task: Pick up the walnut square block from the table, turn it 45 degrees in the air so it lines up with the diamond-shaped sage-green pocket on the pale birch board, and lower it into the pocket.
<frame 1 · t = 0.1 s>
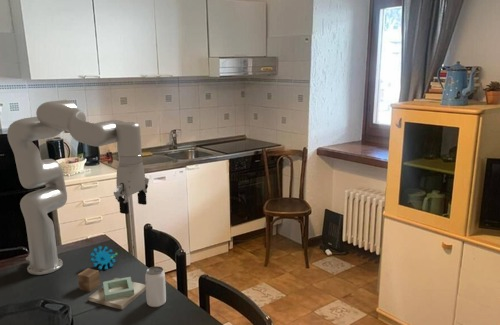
hand: (133, 208, 141), 31 cm above the table, tool pointing down, fingers open, 9 cm apart
block: (89, 287, 150), on the table
gear: (105, 266, 166), on the table
board: (118, 294, 145), on the table
pocket: (118, 288, 145), on the board, point 2 cm above the table
can: (156, 302, 141), on the table
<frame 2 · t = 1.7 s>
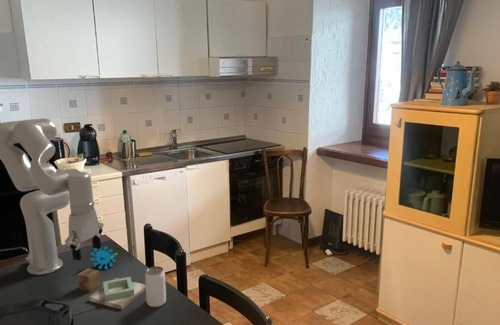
hand: (87, 253, 147), 13 cm above the table, tool pointing down, fingers open, 9 cm apart
nothing on the table moved.
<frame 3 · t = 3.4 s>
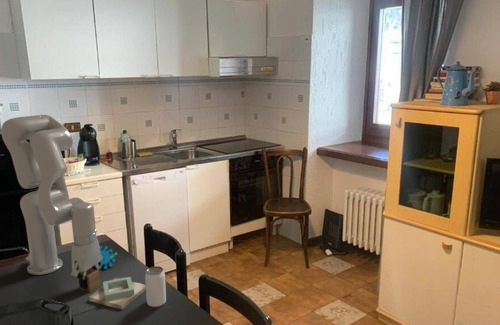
hand: (89, 283, 150), 1 cm above the table, tool pointing down, fingers closed on block, 5 cm apart
block: (90, 287, 150), on the table, touching gripper
everything else where it was.
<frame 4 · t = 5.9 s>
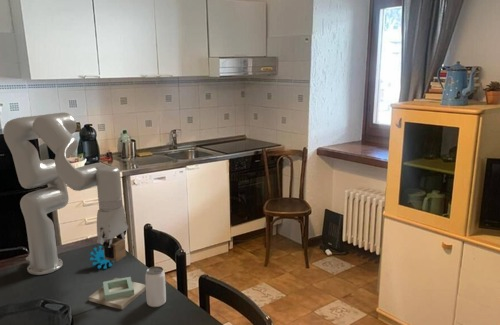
hand: (115, 253, 142), 16 cm above the table, tool pointing down, fingers closed on block, 4 cm apart
block: (115, 257, 142), point 14 cm above the table, touching gripper
everything else where it was.
when the fingers open (6 cm above the table, at t = 8.4 s): block drops 3 cm, resting on board.
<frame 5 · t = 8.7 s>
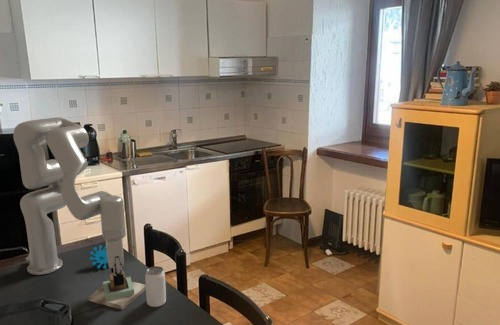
hand: (117, 278, 144), 6 cm above the table, tool pointing down, fingers open, 8 cm apart
block: (118, 290, 145), point 1 cm above the table, touching board
everything else where it was.
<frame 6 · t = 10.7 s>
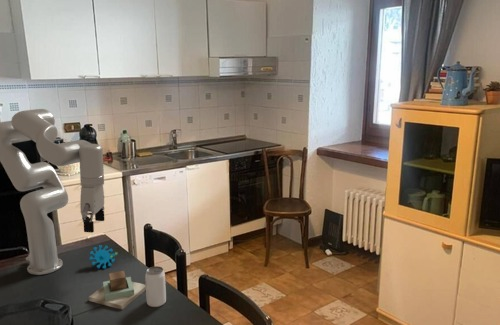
hand: (94, 226, 146), 23 cm above the table, tool pointing down, fingers open, 9 cm apart
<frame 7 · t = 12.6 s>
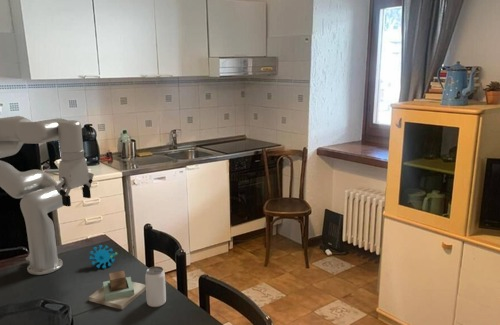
hand: (77, 201, 150), 30 cm above the table, tool pointing down, fingers open, 9 cm apart
at the end: block 0.0 cm off-centre on the pocket, point 1.5 cm above the pocket's base; block tilted 0°; the gripper is holding nothing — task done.
